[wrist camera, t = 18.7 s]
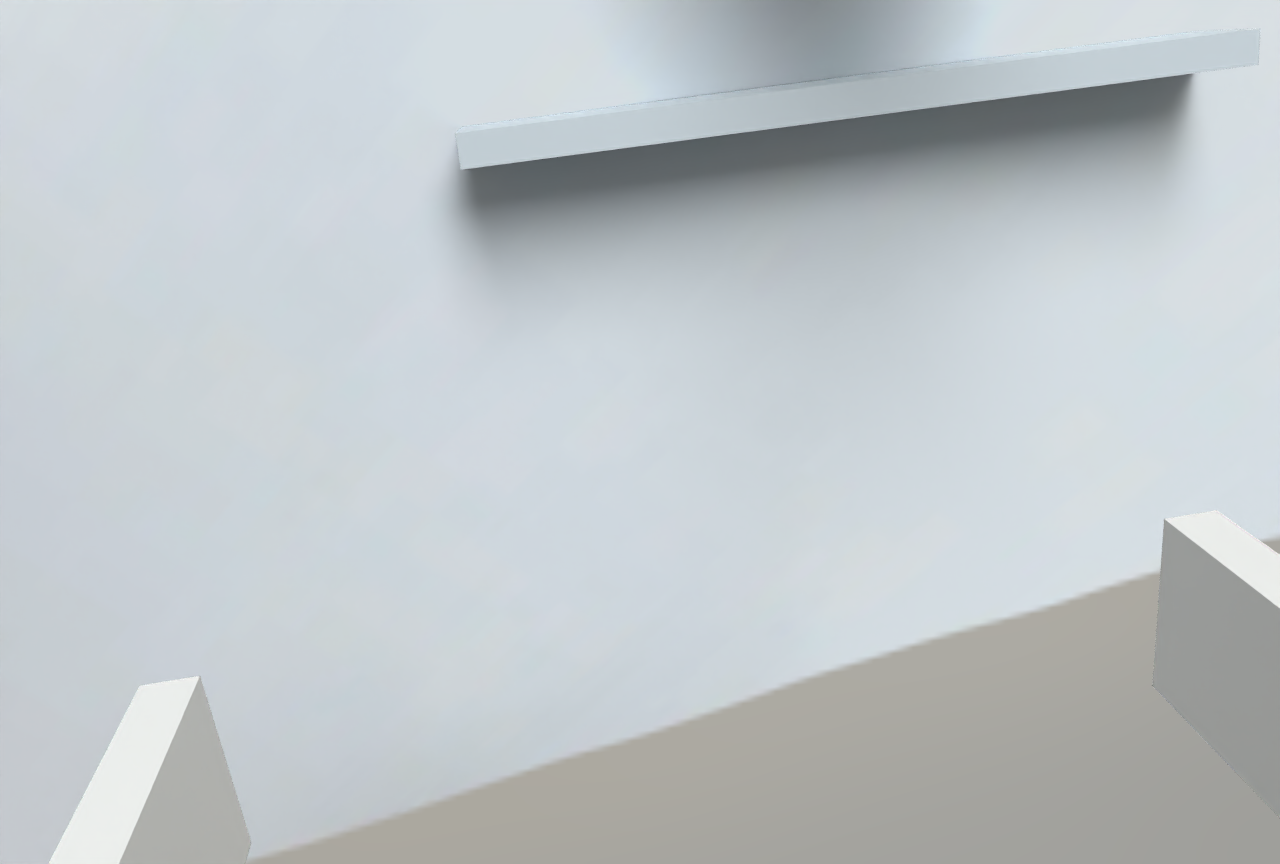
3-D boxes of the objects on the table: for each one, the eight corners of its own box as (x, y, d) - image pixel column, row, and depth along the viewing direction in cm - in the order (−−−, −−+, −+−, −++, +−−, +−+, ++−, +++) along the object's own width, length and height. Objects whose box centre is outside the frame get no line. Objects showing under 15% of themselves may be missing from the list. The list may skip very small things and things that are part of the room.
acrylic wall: (468, 159, 42) (460, 169, 38) (462, 126, 41) (454, 133, 38) (1195, 64, 43) (1258, 65, 39) (1196, 31, 42) (1260, 28, 39)
